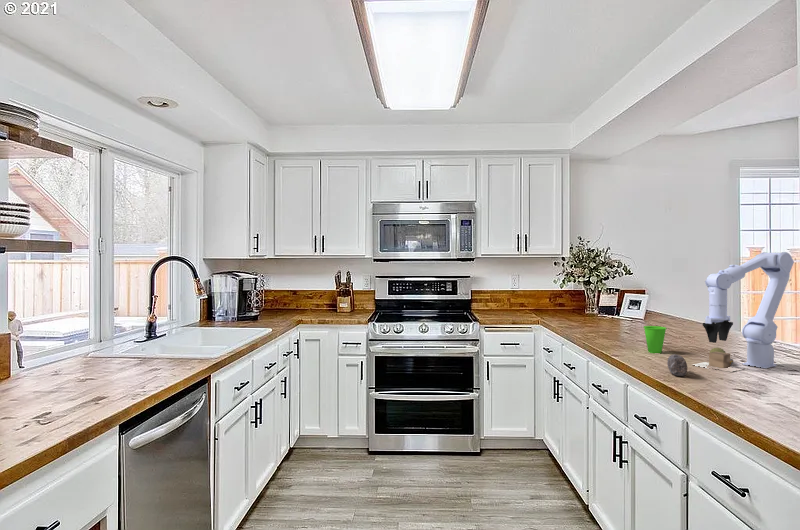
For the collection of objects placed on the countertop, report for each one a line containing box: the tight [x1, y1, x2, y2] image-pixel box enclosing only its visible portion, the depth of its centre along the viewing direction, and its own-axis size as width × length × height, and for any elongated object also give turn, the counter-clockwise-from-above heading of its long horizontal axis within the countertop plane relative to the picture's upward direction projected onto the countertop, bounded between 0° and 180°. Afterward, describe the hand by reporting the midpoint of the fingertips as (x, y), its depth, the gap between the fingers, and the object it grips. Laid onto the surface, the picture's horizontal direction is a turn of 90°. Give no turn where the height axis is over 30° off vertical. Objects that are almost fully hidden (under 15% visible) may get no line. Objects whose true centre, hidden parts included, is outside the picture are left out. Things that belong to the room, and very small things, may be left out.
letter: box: [692, 361, 709, 369], centre depth 183 cm, size 10×14×1 cm
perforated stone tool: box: [666, 354, 688, 377], centre depth 173 cm, size 15×5×7 cm, turn 159°
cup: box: [643, 325, 667, 354], centre depth 211 cm, size 9×9×11 cm
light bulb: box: [708, 347, 734, 366], centre depth 190 cm, size 6×6×10 cm
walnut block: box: [708, 352, 731, 368], centre depth 183 cm, size 5×5×5 cm
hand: (717, 341), depth 182 cm, fingers open, 7 cm apart
